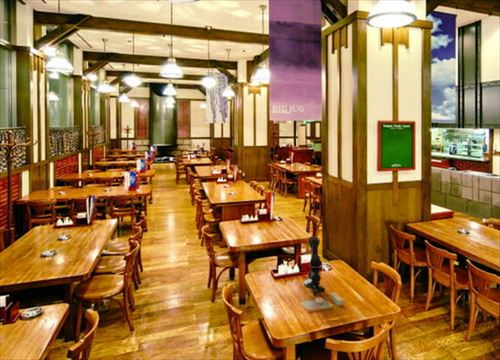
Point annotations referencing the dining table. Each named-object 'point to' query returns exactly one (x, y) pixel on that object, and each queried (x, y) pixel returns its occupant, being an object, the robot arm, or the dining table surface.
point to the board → (315, 305)
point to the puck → (319, 300)
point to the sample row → (336, 298)
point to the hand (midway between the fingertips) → (314, 296)
